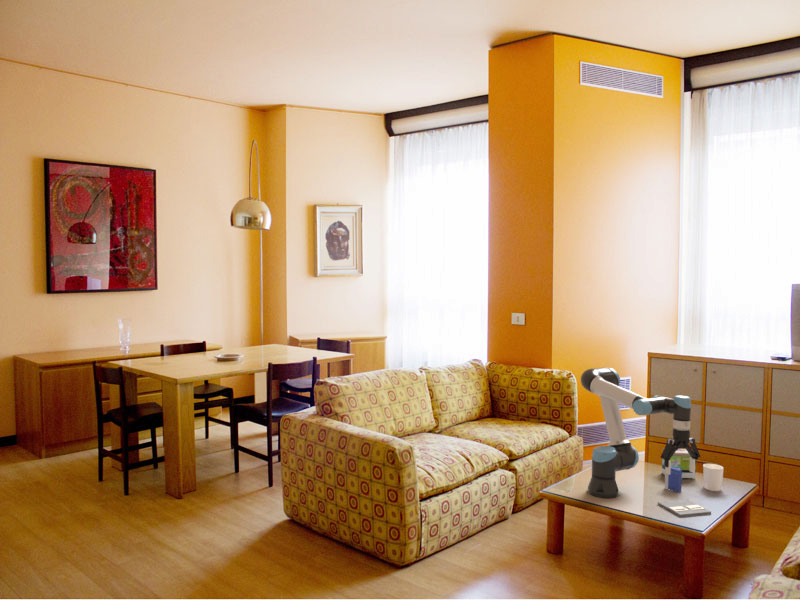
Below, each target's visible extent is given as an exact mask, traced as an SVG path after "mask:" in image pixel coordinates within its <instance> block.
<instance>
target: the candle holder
mask: <svg viewBox="0 0 800 600" xmlns="http://www.w3.org/2000/svg"><path fill="white" fill-rule="evenodd" d="M702 469H703V475H702V476H703V488H704V489H705V490H708V491H712V492H720V491H722V486H723V478H724V466H722V465H720V464H715V463H703V465H702Z"/></svg>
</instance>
